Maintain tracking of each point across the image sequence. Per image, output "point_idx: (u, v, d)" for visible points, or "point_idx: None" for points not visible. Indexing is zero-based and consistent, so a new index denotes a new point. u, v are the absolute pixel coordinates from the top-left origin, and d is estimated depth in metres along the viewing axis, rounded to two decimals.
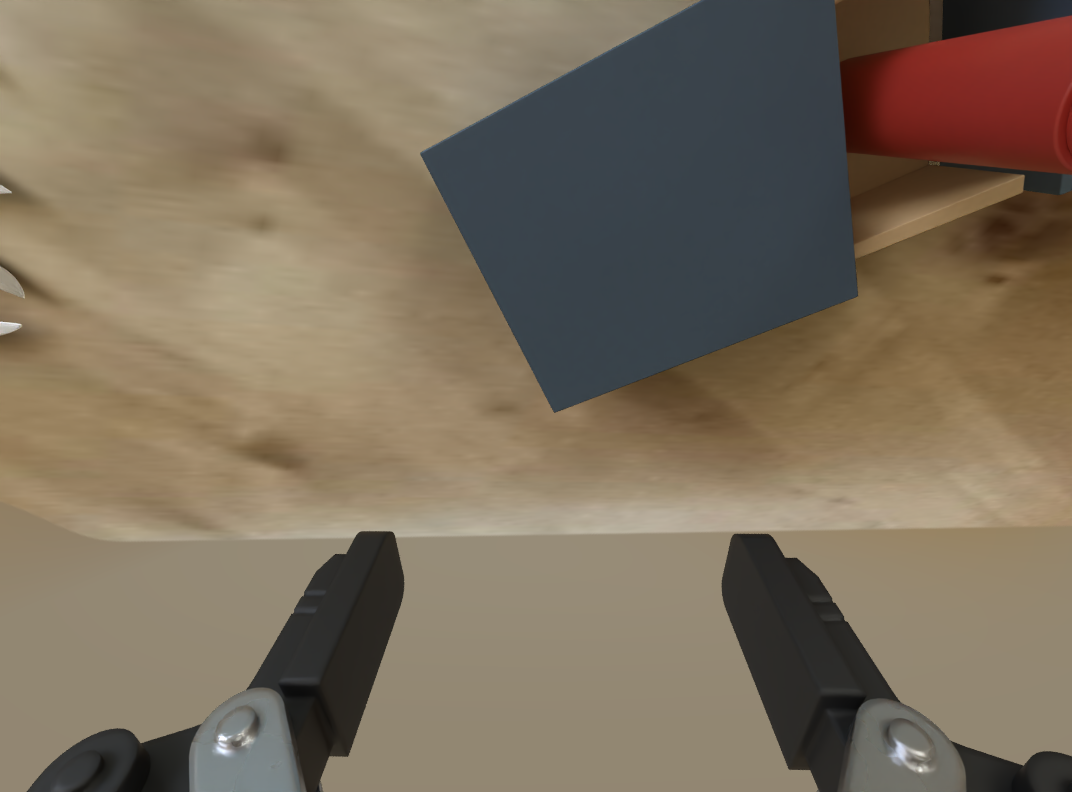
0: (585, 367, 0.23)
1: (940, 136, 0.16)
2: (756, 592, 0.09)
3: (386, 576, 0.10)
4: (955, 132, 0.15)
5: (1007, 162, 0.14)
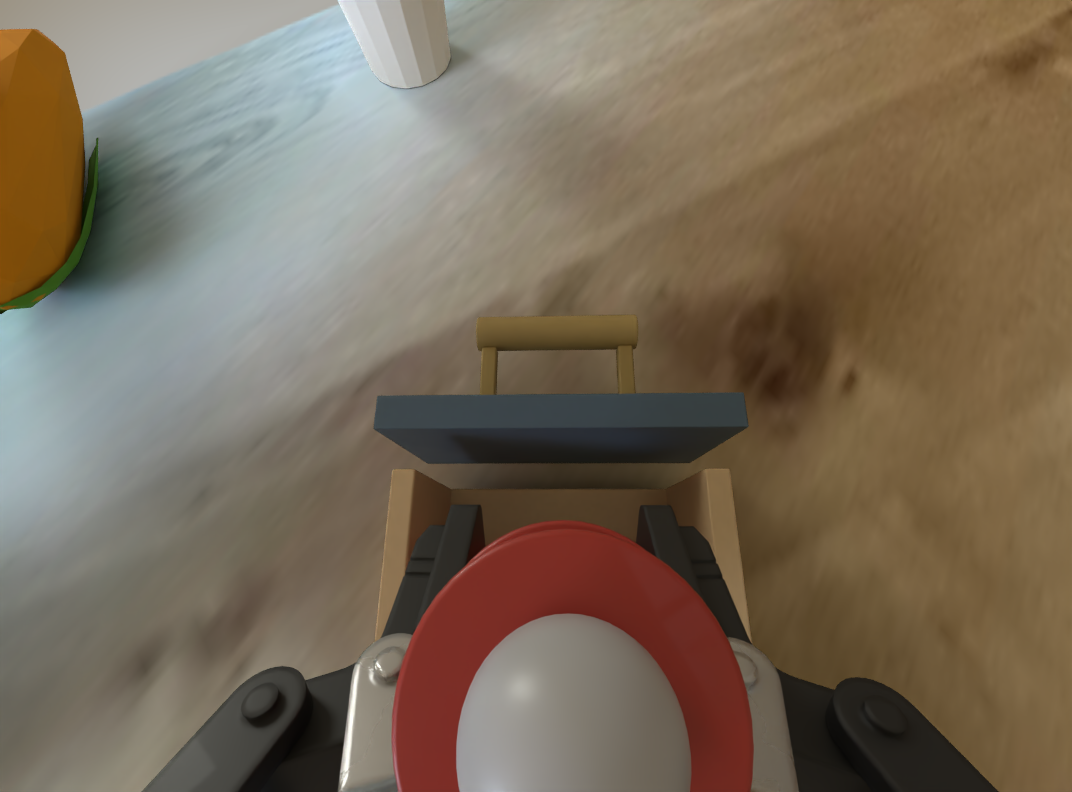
0: None
1: None
2: None
3: (478, 545, 0.11)
4: None
5: None
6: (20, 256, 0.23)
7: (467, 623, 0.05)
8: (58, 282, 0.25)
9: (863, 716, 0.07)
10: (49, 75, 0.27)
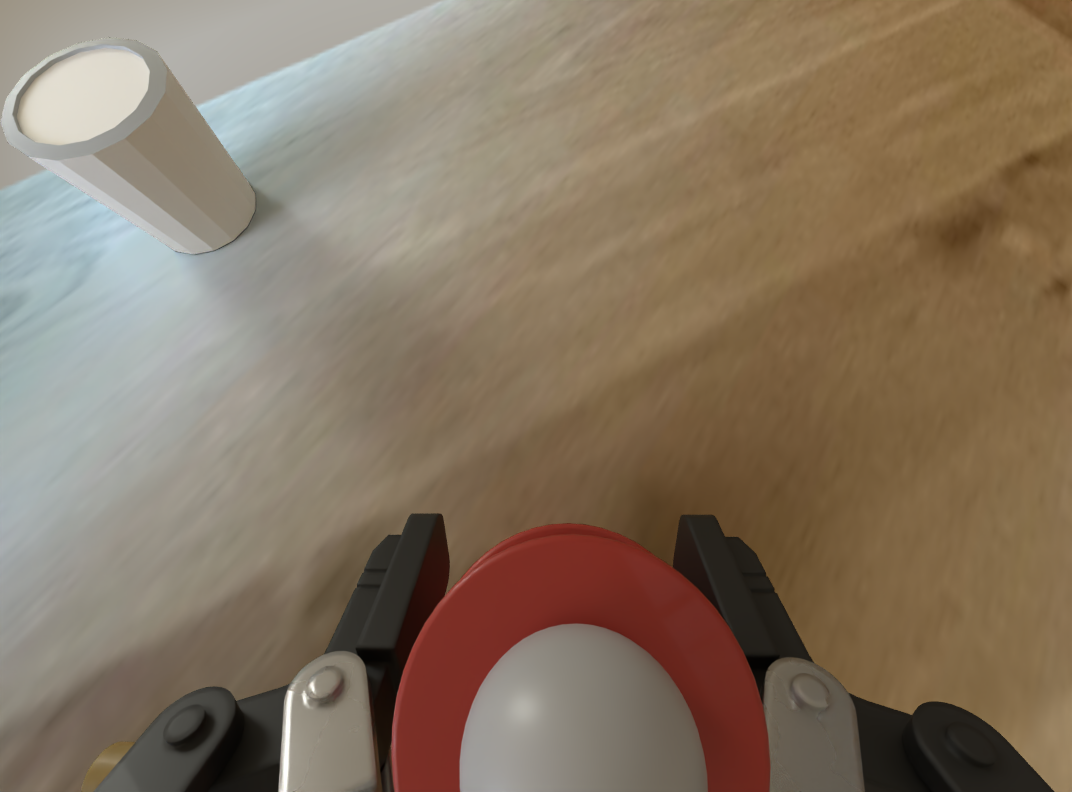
0: None
1: None
2: (696, 568, 0.10)
3: (437, 555, 0.11)
4: None
5: None
6: None
7: (470, 633, 0.05)
8: None
9: (948, 744, 0.06)
10: None
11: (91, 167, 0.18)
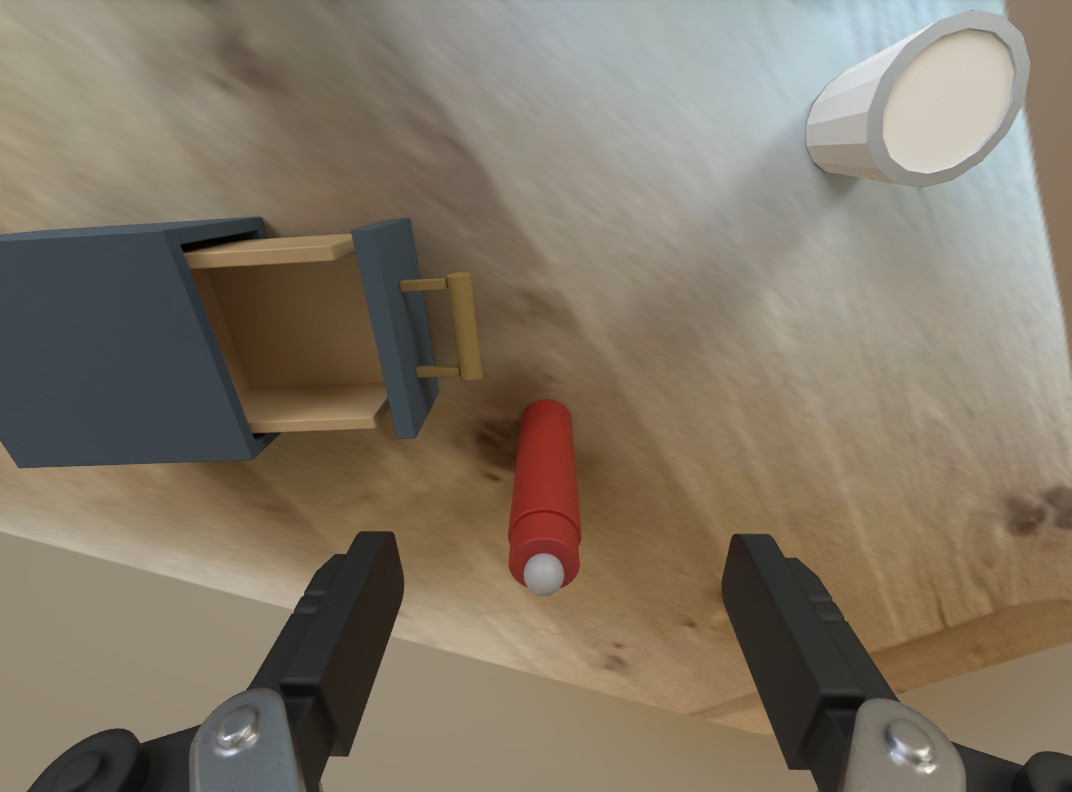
0: (39, 441, 0.28)
1: None
2: (756, 593, 0.09)
3: (386, 576, 0.10)
4: None
5: None
6: None
7: (559, 550, 0.22)
8: None
9: None
10: None
11: (861, 130, 0.22)
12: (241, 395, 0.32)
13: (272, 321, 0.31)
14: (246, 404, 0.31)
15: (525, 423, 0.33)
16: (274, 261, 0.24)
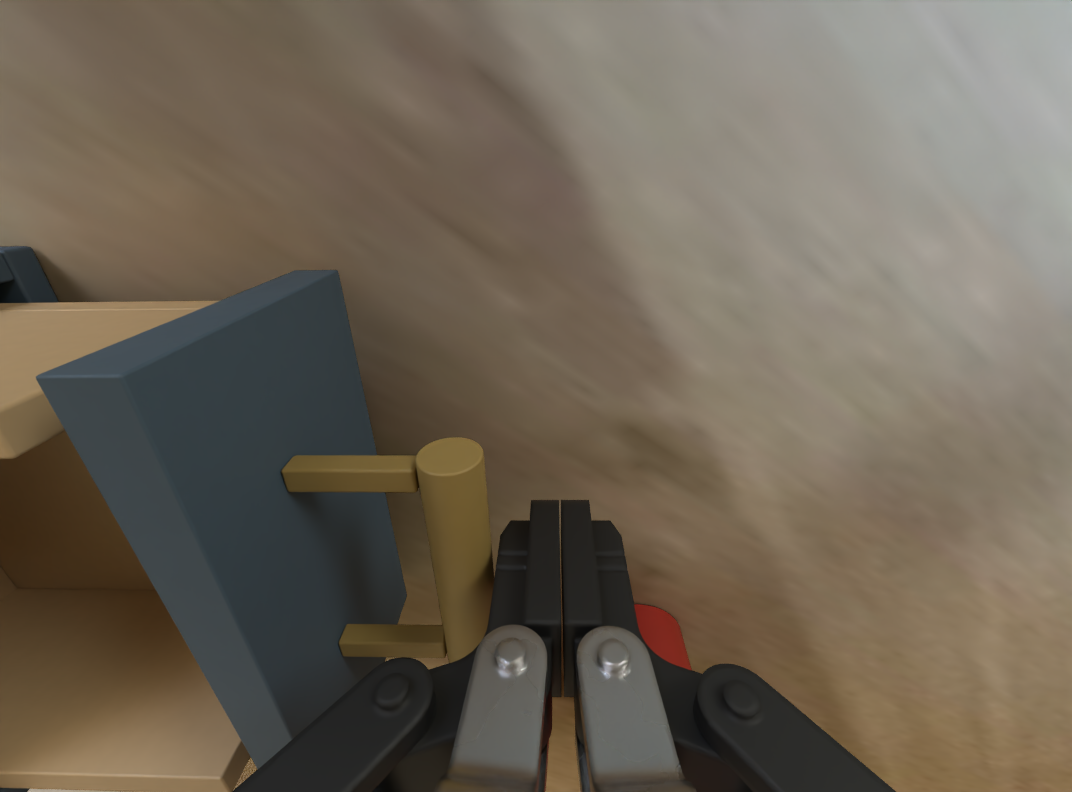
0: None
1: None
2: None
3: None
4: None
5: None
6: None
7: None
8: None
9: (721, 700, 0.07)
10: None
11: None
12: None
13: (33, 478, 0.14)
14: None
15: None
16: None
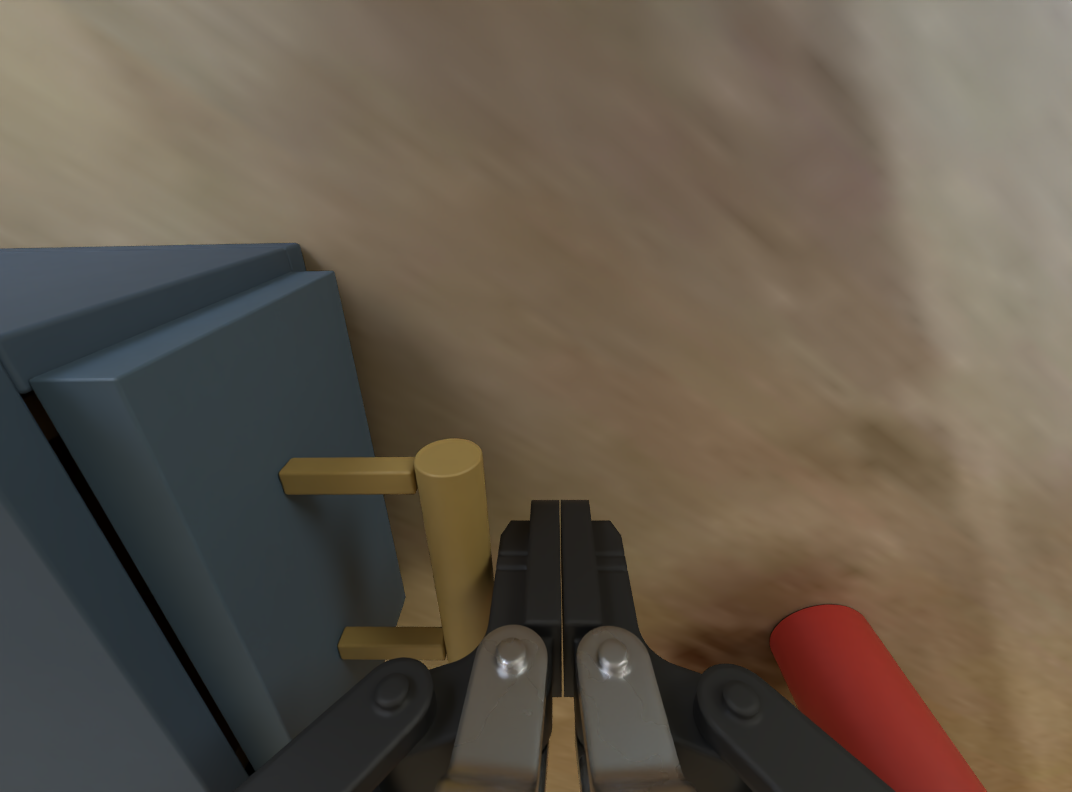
0: None
1: None
2: None
3: None
4: None
5: None
6: None
7: None
8: None
9: (720, 699, 0.07)
10: None
11: None
12: None
13: None
14: None
15: (825, 677, 0.16)
16: None
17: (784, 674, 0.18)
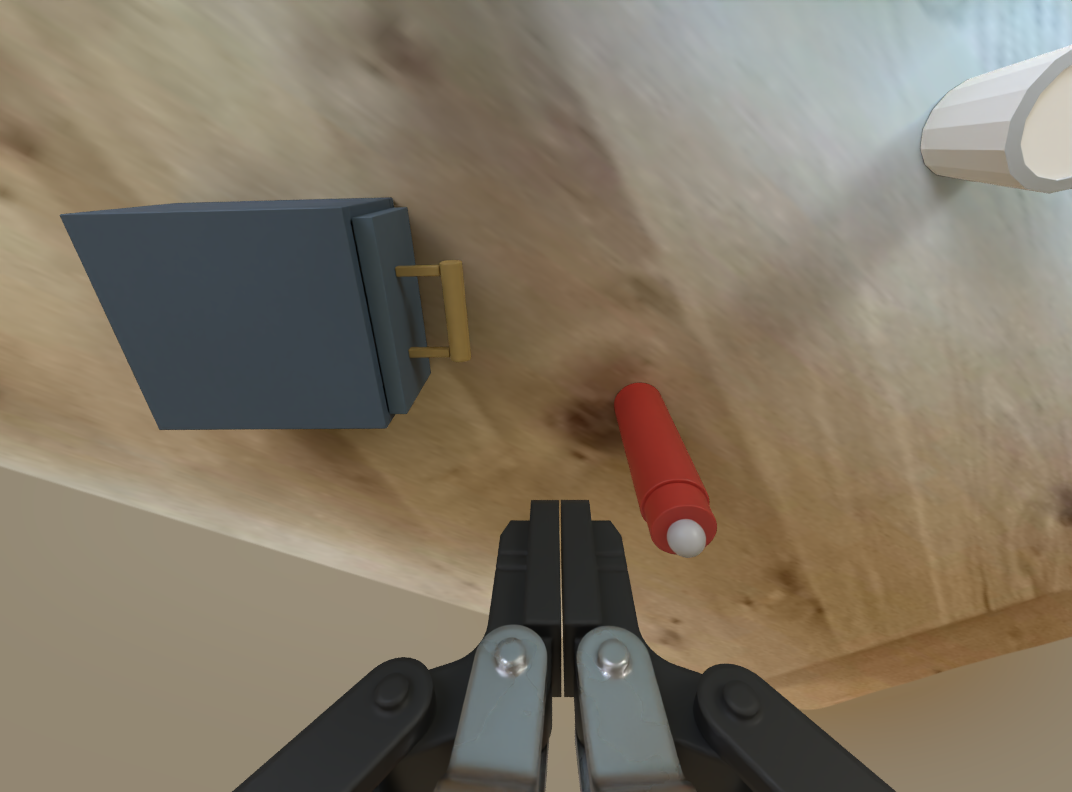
0: (184, 405, 0.30)
1: (630, 470, 0.30)
2: None
3: None
4: (631, 474, 0.30)
5: None
6: None
7: (702, 516, 0.24)
8: None
9: (721, 700, 0.07)
10: None
11: (998, 138, 0.23)
12: None
13: None
14: None
15: (626, 404, 0.35)
16: None
17: (616, 416, 0.37)
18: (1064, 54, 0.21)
